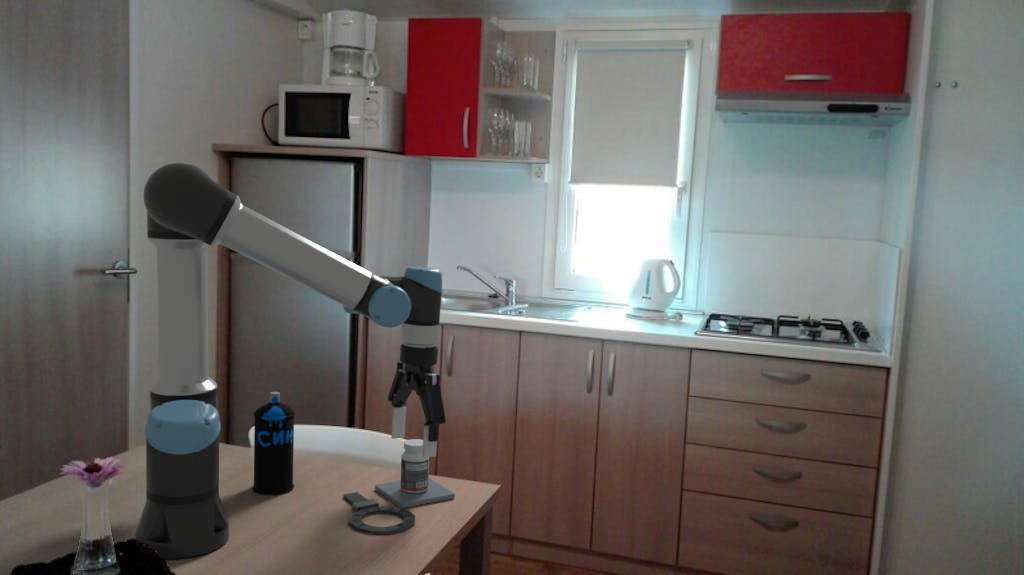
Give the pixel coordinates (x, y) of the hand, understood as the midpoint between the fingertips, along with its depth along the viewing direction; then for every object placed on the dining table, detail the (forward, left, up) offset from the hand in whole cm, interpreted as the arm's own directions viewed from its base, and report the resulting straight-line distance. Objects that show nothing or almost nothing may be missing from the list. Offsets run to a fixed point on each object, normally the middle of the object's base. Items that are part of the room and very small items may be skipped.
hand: (413, 447), depth 173 cm
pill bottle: (+1, 0, -9) cm, 9 cm away
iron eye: (-11, -6, -10) cm, 16 cm away
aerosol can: (-23, +16, -10) cm, 30 cm away
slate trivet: (+1, 0, -10) cm, 10 cm away
